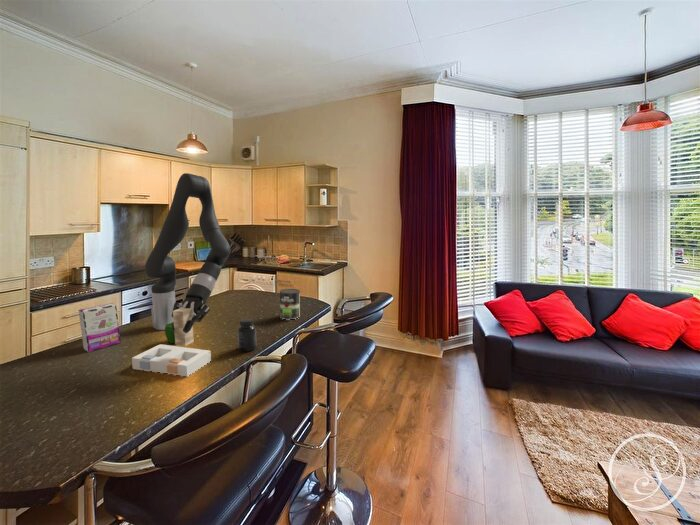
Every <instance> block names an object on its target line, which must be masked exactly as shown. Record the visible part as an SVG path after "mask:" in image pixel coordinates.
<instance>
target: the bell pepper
mask: <svg viewBox="0 0 700 525" xmlns="http://www.w3.org/2000/svg"><path fill="white" fill-rule="evenodd" d="M173 323H174V322H172V323H171V324H170V323H169V324H166V326H165V330H164V333H165V334H164V336H165V337H166V340H167V342H168V343H169V344H175V332H174V331H172V330H171V326H172V325H173Z"/></svg>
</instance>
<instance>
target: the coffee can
mask: <svg viewBox="0 0 700 525" xmlns="http://www.w3.org/2000/svg"><path fill="white" fill-rule="evenodd" d="M300 293H301V291H300V289H298V288H283V289H280V290H279V311H280V312H279V313H280V314H279V317H280V319H281V318H282V319H281V320H283V319H286V320H285V321H291V320H290V319H295V320H297V319H296V318H298V317H301V314H300V313H301V310H300V309H301V306H300V305H301V303H300V302H301V298H300V296H301V295H300ZM298 319H299V318H298Z"/></svg>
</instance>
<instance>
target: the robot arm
mask: <svg viewBox="0 0 700 525" xmlns="http://www.w3.org/2000/svg"><path fill="white" fill-rule="evenodd" d="M189 198H194V199H195V198H196V199H198V200H199V201H200V204H201V211H200V214H199V220H198V222H199V228H200V231H201V233H202V235H203V239H204V240H205V241H206V242H207V243H209V245H210V251H209V253H207V254H208V255H207V257H206V258H205V261H204V262H203V264H202V266H201V267H200V269H199V271H198V273H197V275H195V277H194V279H193V281H192V282H191V284H190V286H189V288H188V290H187V291H186V293H185V298H184V300H183V301H182V302H177V301H176V292H175V291H176V290H175V288H176V287H175V286H176V283H177V280H176V279H177V272H176V263H175V260H174V259H173V258H172V256H168V255H169V254H170V253H171V252H172V251H173V250H174V249H175V248H177V246H178V245H179V244H181V242H183V240H184V238H185V236H186V234H187V231H188V229H189V225H190V224H189V218H188V214H187V211H186V205H187V202H188V199H189ZM214 205H215V204H214V200H213V194H212V188H211V186H210V182H209V181H208V179H207V178H206V177H204V176H200V175H197V174H192V173H189V172H188V173H187V172H184V173H182V174H181V175H180V176H179V179H178V181H177V183H176V186H175V191H174V194H173V198H172V202H171V205H170V207H169V210H168V212H167V214H166V218H165V220H164V222H163V224H162V227H161V230H160V233H159V235H158V238H157V240H156V242H155V244H154V247H153V249H152V251H151V252H150V254H149V256H148V258H147V260H146V262H145V263H144V264H145V265H144V272H145V275H146V276H147V277H149V278H151V279H158V281H156V283H154V284H152V285H151V290H150V291H151V300H152V307H151V320H152V328H153V329H155V330H157V331H165V326H166V324H169V323H170V324H171V323H172V322H174V320H173V311H174V310H177V309H179V308H191V310H192V311H191V312H190V316H189V321H187V323H186V325H185V326H184V328H183V332H185V333H188V332H189V331H190V330H191V328H192V326H193V325H194V324H195V323H201V321H202V320H203V319H204V318H205V317H206V316H207V314H208V313H209V312H210V311H211V308H210V307H209V305H207V303H208V300H209V299H210V296H211V295H212V292H213V290H214V289H215V286H216V282H217V280H218V279H219V277H220V274H221V270H222V268H223V267H224V264H225V263H226V261H227V260H228V258H229V256H231V246H230V244H229V242H228V240H227V238H226V237H225V236H224V234H223V233H222V229H221V226H220V224H219V221H218V219H217V214H216V211H215V206H214ZM193 327H194V326H193ZM171 330H172V331H174V323H173V325H172V326H171Z"/></svg>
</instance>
